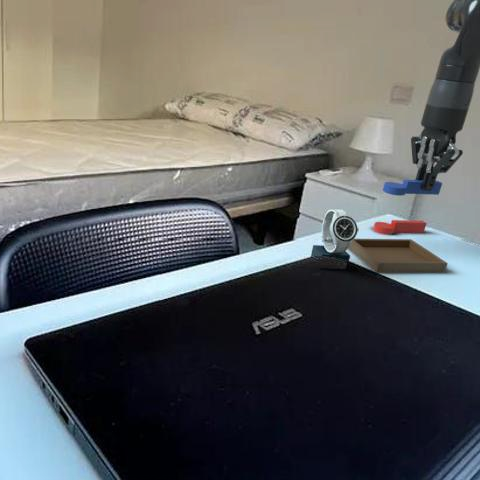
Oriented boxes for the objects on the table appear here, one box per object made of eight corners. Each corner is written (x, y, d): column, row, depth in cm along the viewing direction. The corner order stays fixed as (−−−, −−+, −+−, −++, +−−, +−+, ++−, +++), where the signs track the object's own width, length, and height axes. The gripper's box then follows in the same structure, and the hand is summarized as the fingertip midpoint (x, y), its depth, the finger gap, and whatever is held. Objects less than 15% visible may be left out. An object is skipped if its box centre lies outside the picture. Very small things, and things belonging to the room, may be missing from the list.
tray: (408, 248, 107) (411, 239, 107) (444, 272, 97) (447, 263, 96) (346, 247, 105) (348, 238, 104) (376, 273, 94) (379, 263, 94)
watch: (323, 274, 92) (336, 218, 88) (306, 255, 99) (318, 203, 95) (351, 275, 93) (366, 219, 88) (333, 256, 100) (345, 204, 96)
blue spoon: (429, 190, 108) (433, 178, 107) (443, 196, 104) (447, 184, 103) (378, 188, 106) (381, 176, 105) (390, 195, 102) (393, 183, 101)
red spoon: (415, 228, 119) (418, 218, 118) (427, 235, 115) (430, 225, 114) (369, 227, 117) (372, 217, 116) (379, 235, 113) (382, 224, 112)
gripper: (490, 111, 93) (461, 199, 99) (441, 100, 105) (418, 179, 112) (454, 109, 91) (427, 198, 98) (409, 98, 104) (388, 178, 111)
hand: (422, 188), depth 105 cm, fingers closed on blue spoon, 1 cm apart
